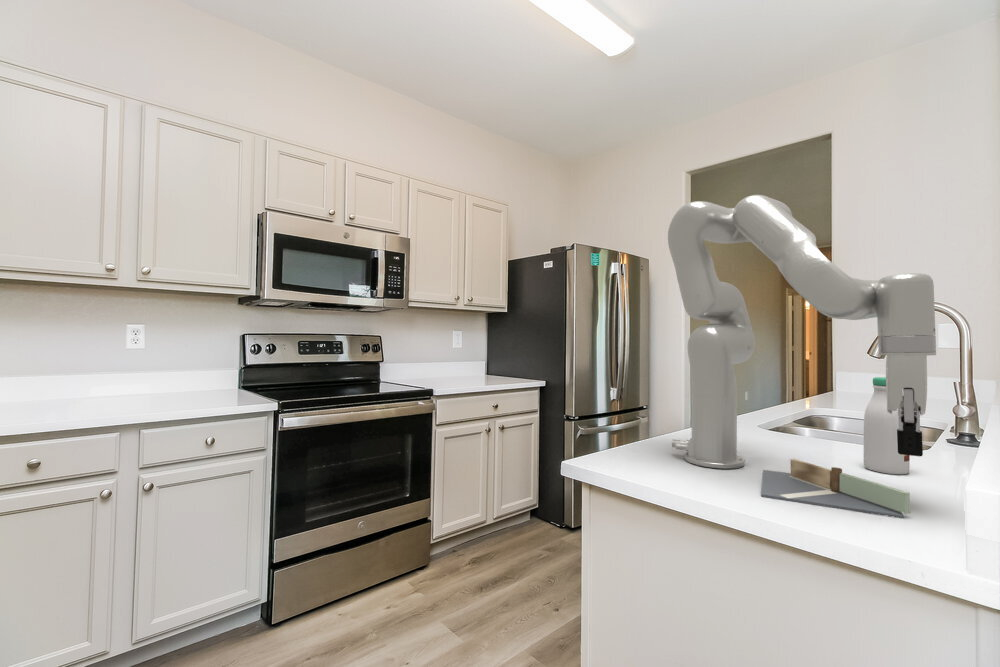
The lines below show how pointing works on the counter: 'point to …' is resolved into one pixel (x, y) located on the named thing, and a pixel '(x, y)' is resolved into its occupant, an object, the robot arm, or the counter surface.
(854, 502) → the board
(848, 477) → the fence hinged panel
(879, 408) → the milk bottle
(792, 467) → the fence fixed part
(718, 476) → the counter surface
